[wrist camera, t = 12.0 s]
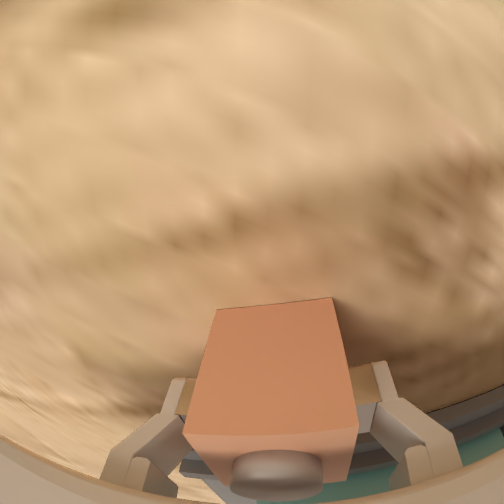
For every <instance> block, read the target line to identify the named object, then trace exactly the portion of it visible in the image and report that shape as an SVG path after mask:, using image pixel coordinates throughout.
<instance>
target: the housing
mask: <svg viewBox="0 0 504 504" xmlns="http://www.w3.org/2000/svg"><path fill="white" fill-rule="evenodd" d="M426 415H428V416H429V417H430V418H432V419H433V420H434V421H436V422H437V423H439V424H440V425H441V426H443V427H444V428H445V429H447V430H448V431H450V432H451V433H452V434H453V437H454V440H455V443H456V446H458V445H461V444H463V443H466V442H468V441H471V440H473V439H475V438H478V437H480V436H482V435H485V434H487V433H489V432H491V431H493V430H495V429H497V428H499V427H500V430H501V432H502V435H503V437H504V385H503V386H501V387H499V388H497V389H494V390H492V391H490V392H487V393H485V394H482V395H480V396H477V397H475V398H472V399H469V400H467V401H464V402H461V403H458V404H455V405H453V406H450V407H447V408H443V409H440V410H437V411H434V412H430V413H427V414H426ZM398 464H399V463H398V462H397V461H396V459H395V458H394V457H393V456H392V455H391V454H390V453H389V452H388V451H387V450H386V449H385V448H384V447H383V446H382V445H381V444H380V443H379V442H378V441H377V440H376V439H375V438H374V437H373V436H372V435H371V434H370V432H365V433H359V434H357V439H356V443H355V447H354V452H353V456H352V460H351V464H350V468H349V472H348V475H350V474H356V473H362V472H367V471H372V470H377V469H382V468H386V467H390V466H395V465H398ZM179 472H180V473H181V474H182V475H183V476H184V477H189V478H198V479H202V480H203V481H204V482H205V483H206V484H207V485H208V486H209V487H210V488H211V489H212V490H213V491H214V492H215V493H216V494H217V495H218V496H219V497H220V498H221V499H222V500H223V501H224V502H225V503H226V504H256V502H257V500H253V499H249V498H245V497H241V496H239V495H237V494H235V493H233V492H232V491H231V490H230V486H224V485H223V484H222V483H221V482H220V481H219V480H218V478H217V477H216V476H215V475H214V474H213V472H212V471H211V470H210V469H209V468H208V466H207V465H206V464H205V463H204V461H203V460H202V459H201V458H200V456H199V455H198V454H197V453H196V451H195V450H194V449H192V450H191V451H190V452H189V453H188V454H187V455H186V456H185V458H184V459H183V460H182V462H181V466H180V470H179Z"/></svg>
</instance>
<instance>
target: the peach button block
mask: <svg viewBox="0 0 504 504" xmlns="http://www.w3.org/2000/svg"><path fill="white" fill-rule="evenodd" d="M358 429H359V421H358V416H357V410H356V405H355V399H354V394H353V389H352V384H351V379H350V374H349V369H348V365H347V360H346V355H345V351H344V346H343V342H342V338H341V333H340V329H339V325H338V321H337V317H336V312H335V308H334V304H333V300H332V298H324V299H317V300H309V301H300V302H292V303H283V304H274V305H264V306H254V307H243V308H232V309H220V310H216V313H215V316H214V320H213V323H212V327H211V330H210V334H209V337H208V341H207V344H206V348H205V352H204V355H203V359H202V362H201V366H200V369H199V373H198V377H197V380H196V384H195V387H194V391H193V395H192V398H191V402H190V406H189V409H188V413H187V417H186V421H185V424H184V428H183V432H182V434H183V435H184V437H185V438H186V439H187V441H188V442H189V443H190V445H191V446H192V447H193V449H194V450H195V451H196V453H197V454H198V455H199V456H200V458H201V459H202V460H203V461H204V463H205V464H206V465H207V466H208V468H209V469H210V470H211V471H212V472H213V474H214V475H215V476H216V477H217V478H218V480H219V481H220V482H221V483H222V484H223V485H224V486H230V490H231V491H232V492H233V493H235V494H237V495H239V496H241V497H245V498H249V499H253V500H260V501H274V502H279V501H293V500H300V499H305V498H309V497H312V496H314V495H317V494H319V493H320V492H321V491H322V490H323V484H324V483H332V482H340V481H346V479H347V475H348V472H349V468H350V464H351V460H352V456H353V452H354V447H355V443H356V439H357V434H358Z"/></svg>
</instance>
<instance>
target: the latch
mask: <svg viewBox="0 0 504 504" xmlns="http://www.w3.org/2000/svg"><path fill="white" fill-rule="evenodd" d="M503 448H504V437H503V435H502V432H501V430H500V427H499V428H497V429H495V430H493V431H491V432H489V433H487V434H485V435H482V436H480V437H478V438H475V439H473V440H471V441H468V442H466V443H463V444H461V445H458V446H457V449H458V452H459V455H460V458H461V462H462V465H463V467H465V466H467V465H469V464H472V463H474V462H476V461H478V460H481V459H483V458H485V457H487V456H489V455H491V454H493V453H495V452H497V451H499V450H501V449H503ZM396 467H397V465H395V466H390V467H386V468H382V469H377V470H372V471H367V472H362V473H356V474H350V475H347V479H346V481H340V482H332V483H324V484H323V490H322V491H321V492H320V493H319V494H317V495H314V496H312V497H309V498H305V499H300V500H293V501H279V502H274V501H260V500H257V502H256V504H314V503H324V502H332V501H340V500H347V499H353V498H359V497H364V496H369V495H374V494H379V493H383V492H388V491H390V486H389V478H390V476H391V475H392V473H393V472H394V470H395V468H396Z"/></svg>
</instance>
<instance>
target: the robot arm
mask: <svg viewBox="0 0 504 504" xmlns="http://www.w3.org/2000/svg"><path fill="white" fill-rule="evenodd" d="M348 369H349V374H350V379H351V384H352V389H353V394H354V399H355V405H356V410H357V416H358V421H359V429H358V434H359V433H365V432H370V434H371V435H372V436H373V437H374V438H375V439H376V440H377V441H378V442H379V443H380V444H381V445H382V446H383V447H384V448H385V449H386V450H387V451H388V452H389V453H390V454H391V455H392V456H393V457H394V458H395V459H396V461H397V462H398V463H399V464H398V465H397V467H396V468H395V470H394V472H393V473H392V475H391V476H390V478H389V486H390V491H388V492H383V493H379V494H374V495H369V496H364V497H359V498H353V499H347V500H340V501H332V502H324V503H314V504H504V448H503V449H501V450H499V451H497V452H495V453H493V454H491V455H489V456H487V457H485V458H483V459H481V460H478V461H476V462H474V463H472V464H469V465H467V466H465V467H463V465H462V462H461V458H460V455H459V452H458V449H457V446H456V443H455V440H454V437H453V434H452V433H451V432H450V431H448V430H447V429H445V428H444V427H443V426H441V425H440V424H439V423H437V422H436V421H434V420H433V419H432V418H430V417H429V416H428V415H426V414H425V413H424V412H422V411H421V410H420V409H418V408H417V407H415V406H414V405H413V404H411V403H410V402H409V401H407V400H406V399H405V398H403V397H402V398H399V397H398V394H397V391H396V388H395V385H394V382H393V379H392V376H391V373H390V370H389V367H388V364H387V362H386V361H385V360H383V361H378V362H372V363H365V364H360V365H354V366H348ZM196 380H197V378H180V377H175V378H174V379H173V380H172V381H171V384H170V387H169V389H168V392H167V395H166V398H165V401H164V404H163V407H162V409H161V412H160V414H159V413H156V414H155V415H154V416H153V417H151V418H150V419H149V420H148V421H146V422H145V423H144V424H143V425H142V426H140V427H139V428H138V429H137V430H135V431H134V432H133V433H132V434H130V435H129V436H128V437H127V438H125V439H124V440H123V441H121V442H120V443H119V444H118V445H116V446H115V447H114V448H112V449H111V451H110V453H109V456H108V458H107V461H106V463H105V466H104V469H103V471H102V474H101V476H100V479H97V478H94V477H91V476H89V475H86V474H83V473H80V472H78V471H75V470H72V469H70V468H67V467H65V466H63V465H60V464H58V463H56V462H53V461H51V460H49V459H47V458H44V457H42V456H40V455H38V454H36V453H34V452H32V451H30V450H28V449H26V448H24V447H22V446H20V445H18V444H17V443H15V442H13V441H11V440H10V439H8V438H6V437H4V436H2V435H0V504H218V503H208V502H199V501H192V500H185V499H178V498H176V497H177V492H178V486H177V485H176V484H175V483H174V482H173V481H172V480H170V479H169V478H168V477H167V476H168V475H169V474H170V473H171V472H172V471H173V470H174V469H175V467H176V466H177V465H178V464H179V463H180V462H181V461H182V460H183V459H184V458H185V456H186V455H187V454H188V453H189V452H190V451H191V450H192V449H193V447H192V446H191V445H190V443H189V442H188V441H187V439H186V438H185V437H184V435H183V434H182V432H183V428H184V424H185V421H186V417H187V413H188V409H189V406H190V402H191V398H192V395H193V391H194V387H195V384H196Z"/></svg>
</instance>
